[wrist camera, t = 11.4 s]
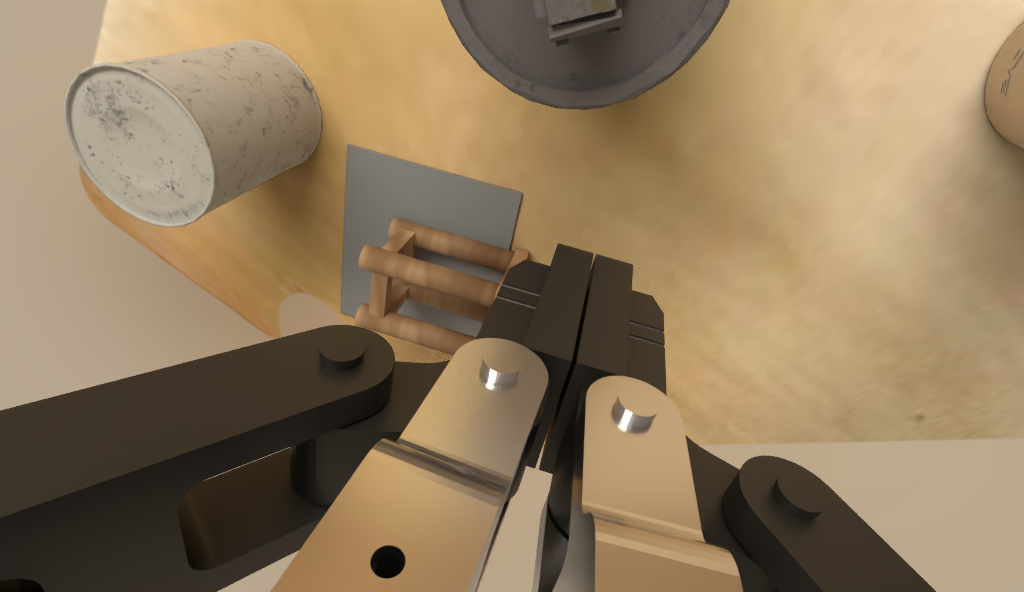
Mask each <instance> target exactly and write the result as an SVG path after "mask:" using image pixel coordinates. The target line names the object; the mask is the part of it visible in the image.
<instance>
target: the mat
mask: <svg viewBox="0 0 1024 592" xmlns="http://www.w3.org/2000/svg"><path fill="white" fill-rule="evenodd" d="M521 197H522V193H520V192H516V191H513V190H509V189H506V188H502V187H499V186H495V185H491V184H488V183H484V182H481V181H477V180H474V179H470V178H467V177H463V176H459V175H456V174H452V173H449V172H445V171H442V170H438V169H435V168H431V167H428V166H424V165H420V164H417V163H413V162H410V161H406V160H403V159H399V158H396V157H392V156H388V155H385V154H381V153H378V152H374V151H371V150H367V149H364V148H360V147H356V146H353V145H349V144H348V145H347V166H346V191H345V215H344V240H343V265H342V290H341V313H344V314H348V315H351V316H354V317H356V313H357V311H358V309H359V307H360V305H361V304H362V303H366V304H370V292H371V279H372V272H371V271H368V270H365V269H362V268H360V267H359V257H360V253H361V251H362V249H363V247H364V246H365V245H366V244H368V245H372V246H375V247H378V248H382V247H383V246H384V245H385V244H386V243H387V242H388V241H389V240H390V239H389V237H388V231H389V227H390V224H391V221H392V220H393V218H394V217H397V218H401V219H404V220H408V221H411V222H415V223H418V224H421V225H425V226H428V227H432V228H435V229H438V230H442V231H445V232H449V233H452V234H456V235H459V236H462V237H466V238H469V239H473V240H476V241H479V242H483V243H486V244H490V245H493V246H497V247H500V248H503V249H507V250H509V249H510V245H511V241H512V236H513V232H514V227H515V223H516V219H517V214H518V210H519V206H520V201H521ZM417 259H419V260H422V261H426V262H429V263H432V264H436V265H439V266H442V267H446V268H449V269H452V270H456V271H459V272H462V273H466V274H469V275H473V276H476V277H479V278H483V279H486V280H489V281H493V282H496V283H499V284H500V282H501V280H502V278H503V275H504V272H501V271H497V270H494V269H490V268H487V267H484V266H480V265H477V264H474V263H470V262H467V261H463V260H460V259H457V258H453V257H450V256H446V255H443V254H440V253H436V252H433V251H430V250H426V249H423V248H419V247H418V253H417ZM397 313H398V314H402V315H405V316H408V317H411V318H415V319H418V320H421V321H425V322H428V323H431V324H434V325H438V326H441V327H444V328H447V329H451V330H454V331H457V332H460V333H464V334H467V335H470V336H474V337H477V335H478V333H479V331H480V329H481V327H482V325H483V323H484V322H481V321H478V320H475V319H471V318H468V317H465V316H462V315H458V314H455V313H452V312H448V311H445V310H442V309H439V308H435V307H432V306H429V305H425V304H422V303H419V302H415V301H412V300H409V299H406V301H405V302H404V303H403V305H402V306H401V307H400V309H399V310H398V311H397Z"/></svg>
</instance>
